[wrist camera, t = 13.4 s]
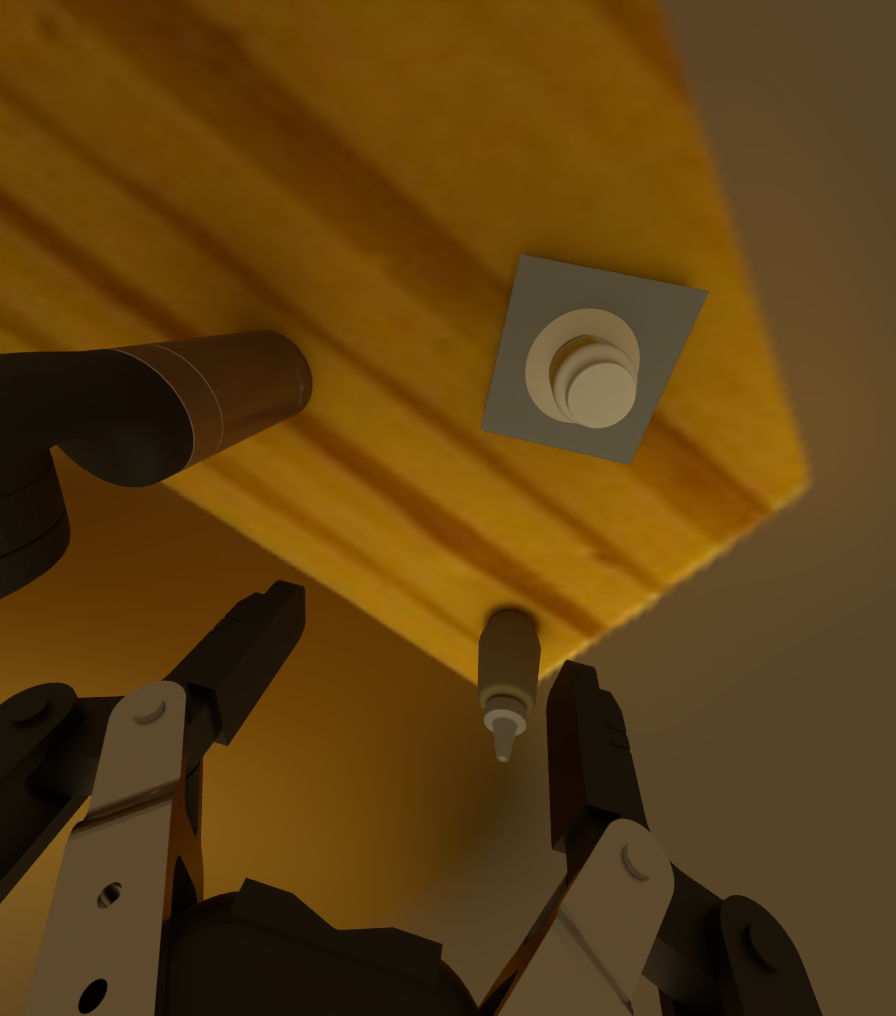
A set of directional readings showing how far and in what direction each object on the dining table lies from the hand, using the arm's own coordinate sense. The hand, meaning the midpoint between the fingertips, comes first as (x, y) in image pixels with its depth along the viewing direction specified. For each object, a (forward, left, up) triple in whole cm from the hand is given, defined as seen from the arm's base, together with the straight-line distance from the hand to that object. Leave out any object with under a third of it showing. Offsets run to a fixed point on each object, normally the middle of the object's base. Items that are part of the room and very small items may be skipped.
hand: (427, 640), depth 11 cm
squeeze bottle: (+9, -30, -32) cm, 45 cm away
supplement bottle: (+6, +5, -27) cm, 28 cm away
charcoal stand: (+6, +5, -32) cm, 33 cm away
